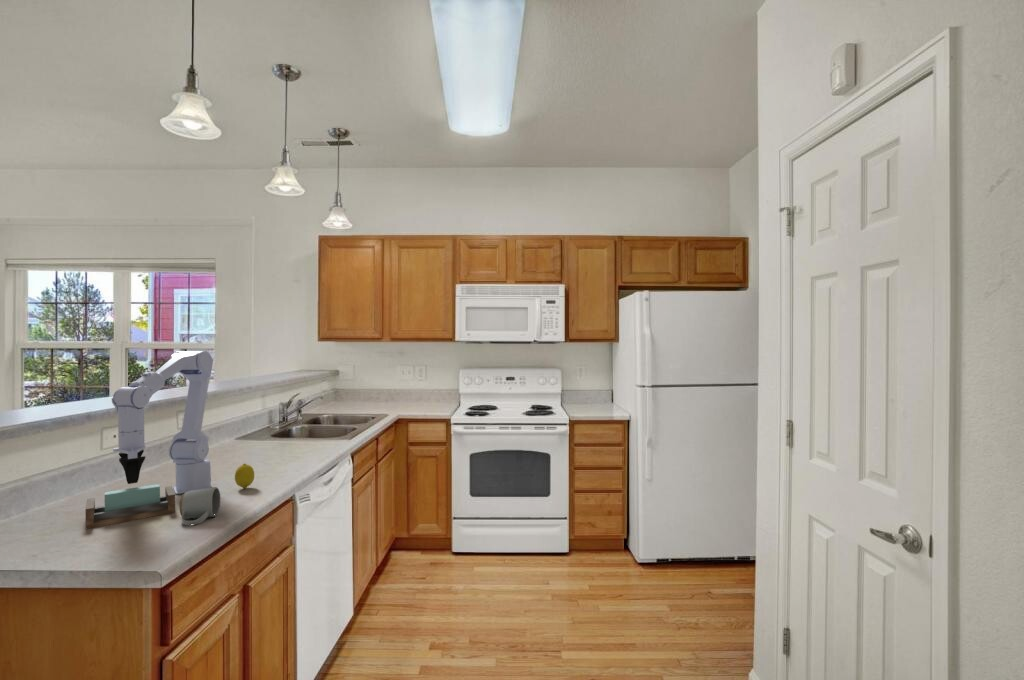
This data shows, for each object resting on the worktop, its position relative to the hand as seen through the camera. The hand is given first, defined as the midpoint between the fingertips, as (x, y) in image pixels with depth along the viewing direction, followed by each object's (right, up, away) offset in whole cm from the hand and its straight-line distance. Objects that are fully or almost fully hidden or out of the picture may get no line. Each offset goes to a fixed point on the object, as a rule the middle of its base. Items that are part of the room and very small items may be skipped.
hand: (132, 479), depth 139 cm
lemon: (+19, -9, +23) cm, 31 cm away
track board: (+1, -9, -1) cm, 9 cm away
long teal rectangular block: (+1, -8, -1) cm, 8 cm away
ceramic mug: (+21, -10, -4) cm, 23 cm away
